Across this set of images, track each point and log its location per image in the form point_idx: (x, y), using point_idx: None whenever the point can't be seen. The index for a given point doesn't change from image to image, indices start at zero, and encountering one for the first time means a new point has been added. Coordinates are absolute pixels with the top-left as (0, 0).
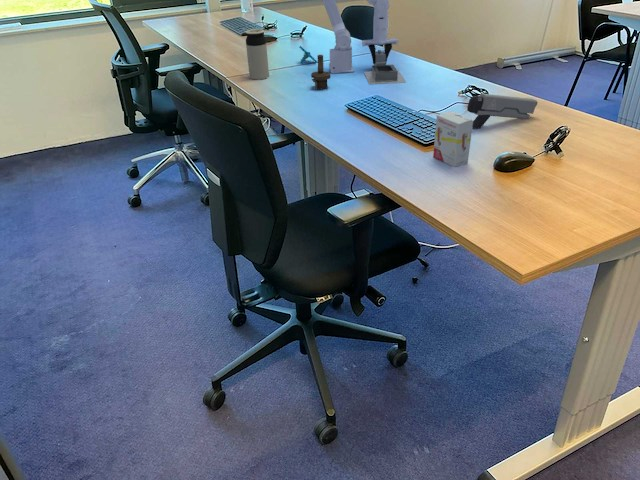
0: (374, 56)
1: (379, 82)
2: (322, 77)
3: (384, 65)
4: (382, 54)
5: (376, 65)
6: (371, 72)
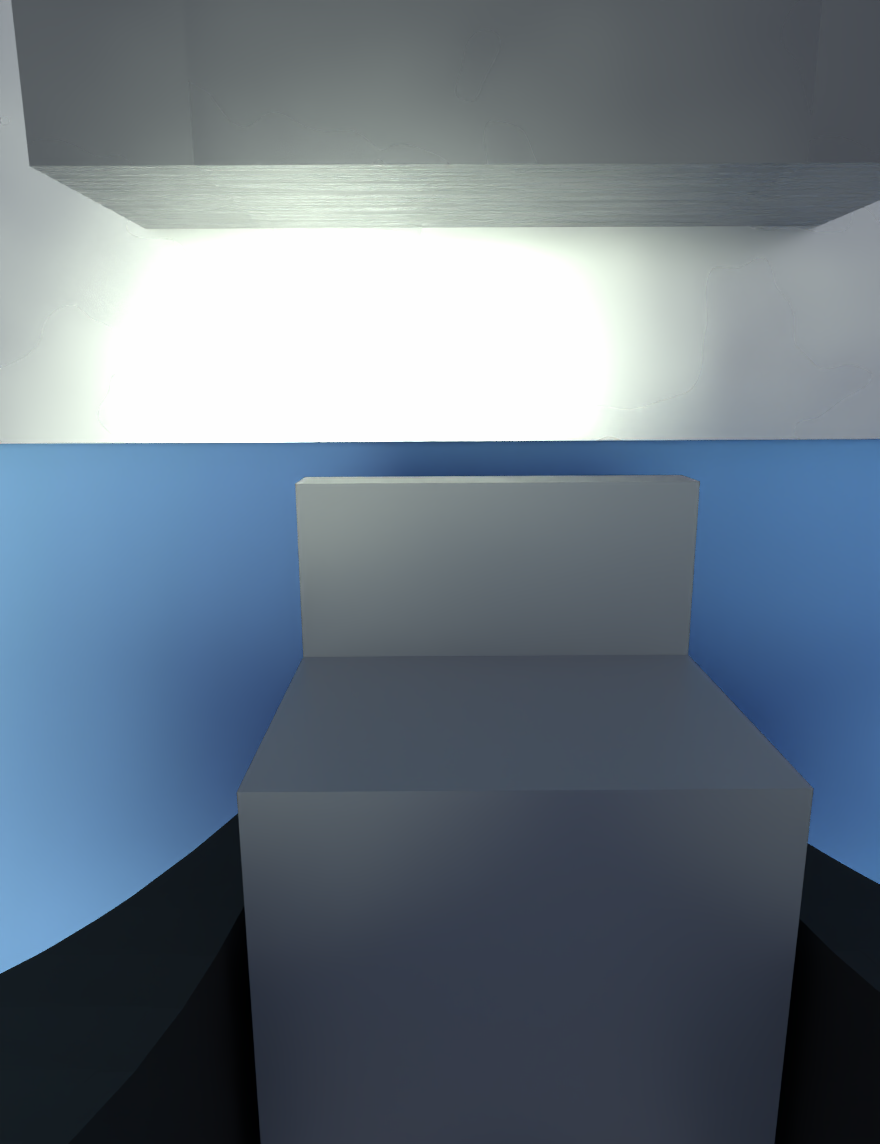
0: (802, 888)
1: None
2: None
3: (425, 69)
4: (426, 846)
5: (771, 137)
6: (807, 308)
